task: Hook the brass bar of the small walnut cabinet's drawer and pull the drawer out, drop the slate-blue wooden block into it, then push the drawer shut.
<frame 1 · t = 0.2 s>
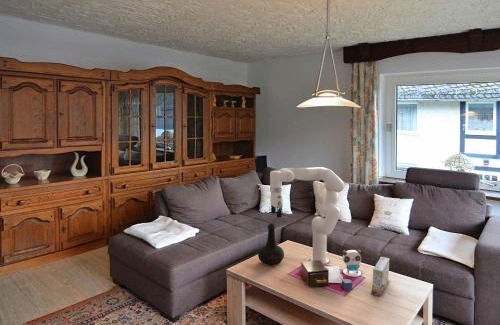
hand: (276, 215, 229), 37 cm above the table, tool pointing down, fingers open, 9 cm apart
cabinet: (314, 280, 216), on the table
snack box: (380, 287, 206), on the table
black vase: (271, 263, 243), on the table
panda figurine: (351, 272, 226), on the table
block: (346, 288, 206), on the table
drawer: (316, 276, 211), point 5 cm above the table, slide at 0.5 cm
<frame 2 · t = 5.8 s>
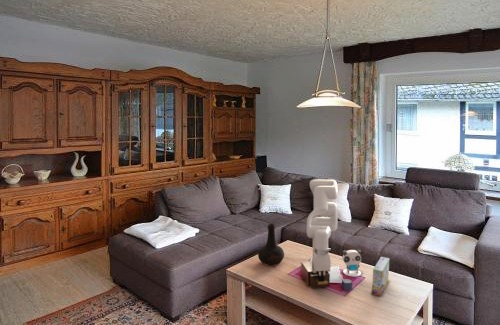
hand: (321, 281, 203), 6 cm above the table, tool pointing down, fingers closed
drawer: (318, 277, 209), point 5 cm above the table, slide at 2.4 cm, touching gripper
everything else where it was.
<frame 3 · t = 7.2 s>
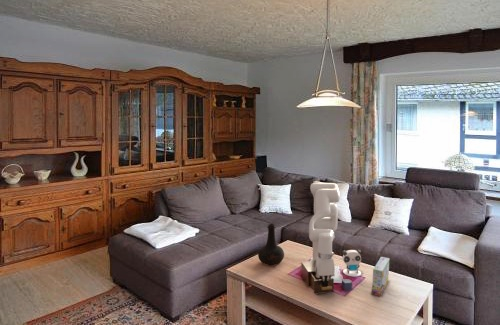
hand: (324, 286, 197), 6 cm above the table, tool pointing down, fingers closed
drawer: (321, 282, 203), point 5 cm above the table, slide at 8.5 cm, touching gripper
everything else where it was.
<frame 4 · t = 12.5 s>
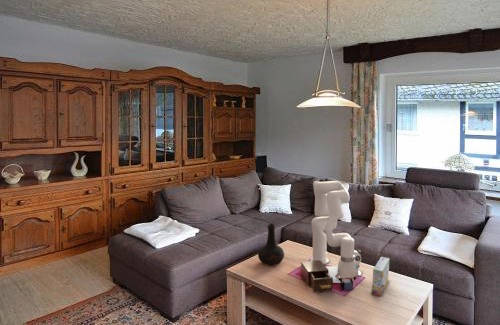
hand: (346, 287, 206), 0 cm above the table, tool pointing down, fingers closed on block, 4 cm apart
block: (346, 288, 206), on the table, touching gripper
drawer: (320, 281, 205), point 5 cm above the table, slide at 7.1 cm
everything else where it was.
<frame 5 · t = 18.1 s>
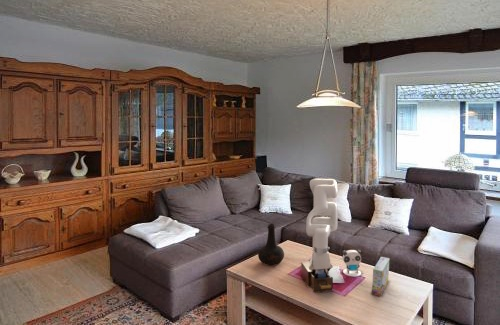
hand: (320, 278, 205), 6 cm above the table, tool pointing down, fingers closed on block, 4 cm apart
block: (320, 279, 205), point 6 cm above the table, touching gripper
everything else where it was.
when the fingers open (9 cm above the table, at t = 30.9 s): block drops 7 cm, resting on drawer.
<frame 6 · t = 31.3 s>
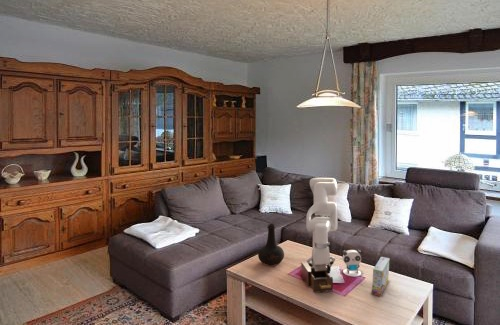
hand: (320, 273, 204), 10 cm above the table, tool pointing down, fingers open, 8 cm apart
block: (320, 286, 205), point 2 cm above the table, touching drawer
drawer: (320, 281, 205), point 5 cm above the table, slide at 6.9 cm, touching block
everything else where it was.
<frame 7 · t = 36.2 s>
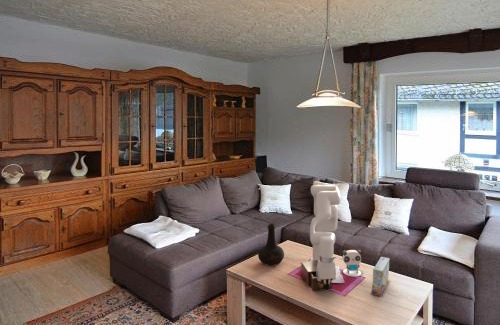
hand: (326, 289, 196), 5 cm above the table, tool pointing down, fingers closed
block: (319, 284, 206), point 2 cm above the table, touching drawer
drawer: (319, 280, 206), point 5 cm above the table, slide at 5.5 cm, touching block, gripper
everything else where it was.
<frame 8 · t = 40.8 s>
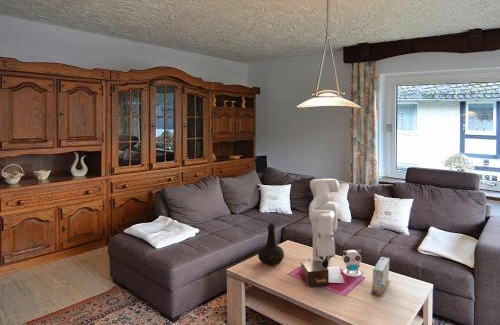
hand: (325, 266, 196), 17 cm above the table, tool pointing down, fingers closed
block: (316, 280, 212), point 2 cm above the table, touching drawer
drawer: (316, 276, 212), point 5 cm above the table, slide at 0.0 cm, touching block, cabinet
everything else where it was.
at the end: drawer pulled out 8.6 cm at the most during the clip and back in by the end; block inside the target area in the cabinet (4.4 cm from its centre), point 2.0 cm above the cabinet's base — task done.
